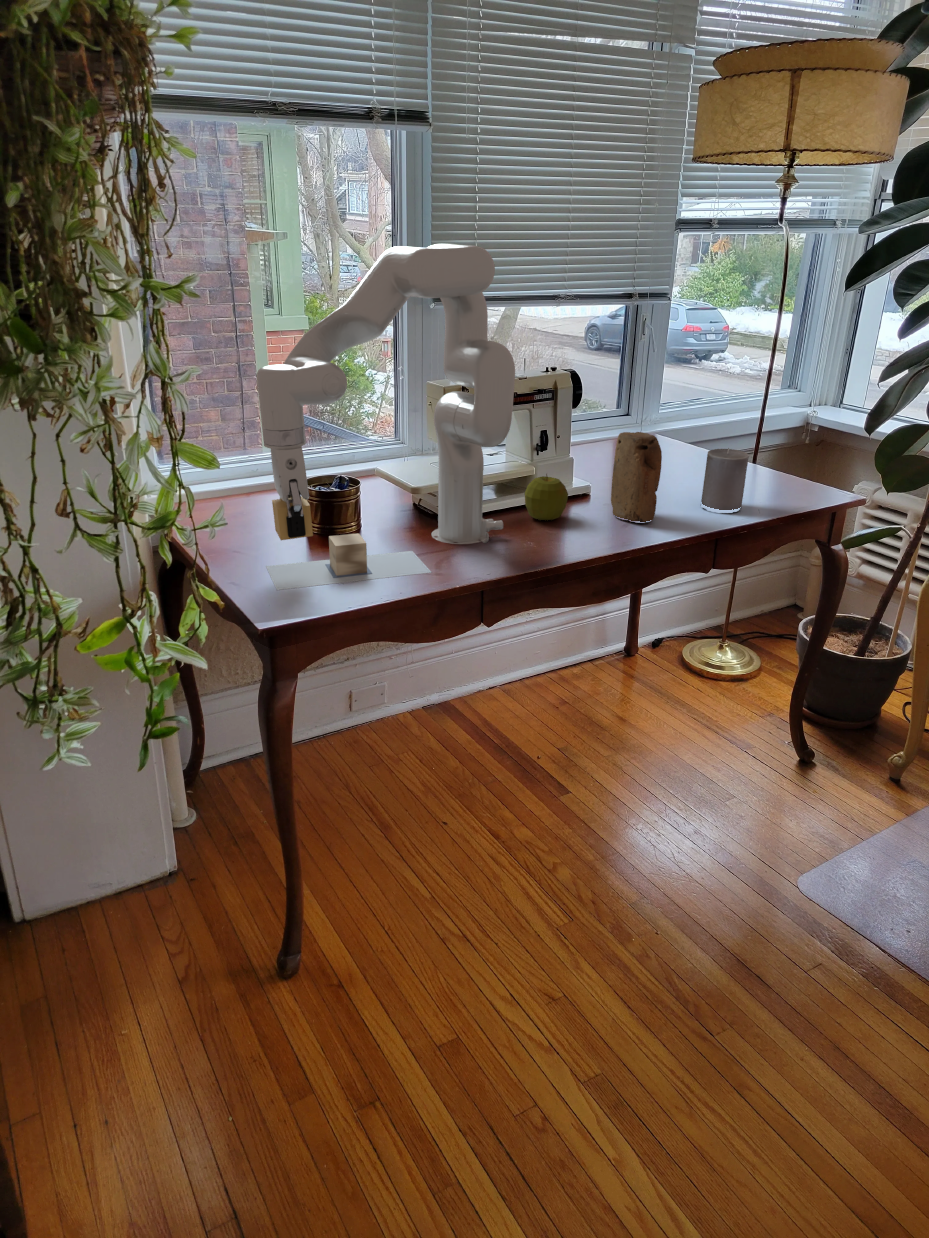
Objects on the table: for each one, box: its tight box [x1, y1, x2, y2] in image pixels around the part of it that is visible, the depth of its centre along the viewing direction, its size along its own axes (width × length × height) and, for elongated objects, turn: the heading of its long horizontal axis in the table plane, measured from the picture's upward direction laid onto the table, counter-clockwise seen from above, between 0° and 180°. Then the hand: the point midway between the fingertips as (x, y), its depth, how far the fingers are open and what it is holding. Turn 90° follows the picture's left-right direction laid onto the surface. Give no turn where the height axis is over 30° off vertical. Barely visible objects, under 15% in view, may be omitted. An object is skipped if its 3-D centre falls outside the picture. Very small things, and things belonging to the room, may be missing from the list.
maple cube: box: [328, 533, 368, 576], centre depth 179 cm, size 6×6×6 cm
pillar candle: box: [700, 447, 750, 510], centre depth 223 cm, size 10×10×15 cm
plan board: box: [265, 550, 433, 591], centre depth 180 cm, size 30×13×1 cm, turn 110°
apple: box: [524, 473, 569, 522], centre depth 214 cm, size 10×10×11 cm
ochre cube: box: [271, 496, 314, 541], centre depth 173 cm, size 6×6×6 cm
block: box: [610, 431, 663, 522], centre depth 213 cm, size 11×8×20 cm
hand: (293, 529), depth 174 cm, fingers closed on ochre cube, 5 cm apart
